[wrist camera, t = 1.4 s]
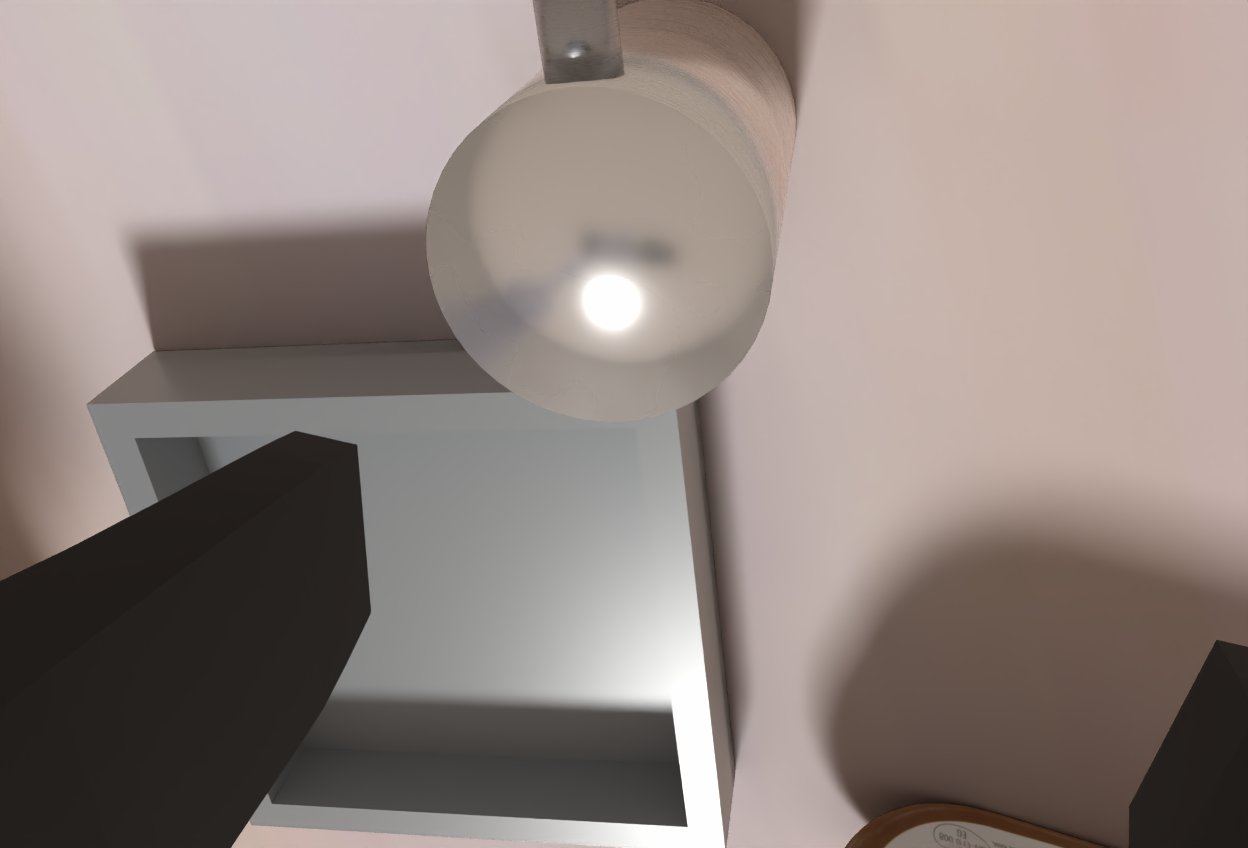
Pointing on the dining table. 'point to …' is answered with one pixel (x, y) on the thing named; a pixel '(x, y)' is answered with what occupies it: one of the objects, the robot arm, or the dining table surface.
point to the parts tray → (478, 594)
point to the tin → (956, 830)
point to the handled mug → (619, 210)
